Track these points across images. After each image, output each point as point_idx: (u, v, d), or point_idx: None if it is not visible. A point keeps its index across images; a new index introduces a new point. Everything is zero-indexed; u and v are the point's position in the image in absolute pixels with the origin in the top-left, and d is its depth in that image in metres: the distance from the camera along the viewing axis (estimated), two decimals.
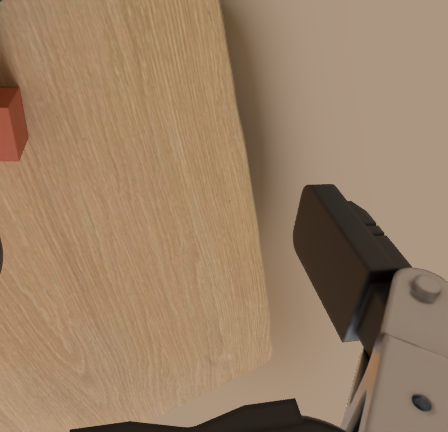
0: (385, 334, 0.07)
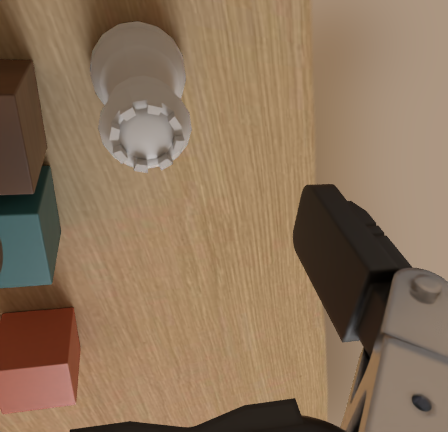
0: (385, 334, 0.07)
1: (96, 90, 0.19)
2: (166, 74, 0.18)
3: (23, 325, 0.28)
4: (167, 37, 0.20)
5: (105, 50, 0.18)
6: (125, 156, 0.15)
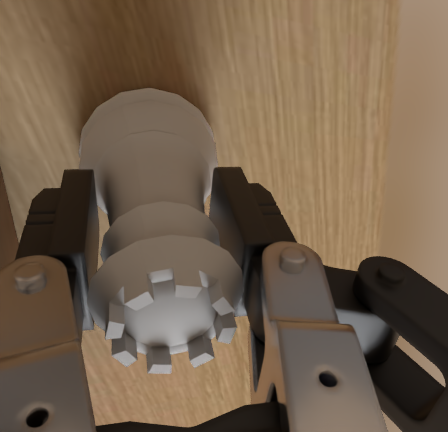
0: (276, 321, 0.07)
1: None
2: (194, 176, 0.12)
3: None
4: (192, 109, 0.13)
5: (101, 136, 0.12)
6: (133, 356, 0.08)
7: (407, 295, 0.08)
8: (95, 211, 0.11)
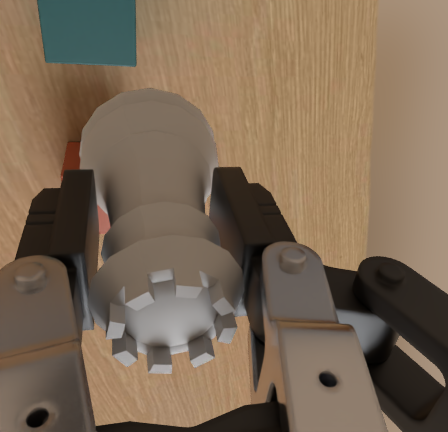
0: (276, 322, 0.07)
1: None
2: (195, 176, 0.12)
3: None
4: (192, 109, 0.13)
5: (101, 136, 0.12)
6: (134, 356, 0.08)
7: (407, 295, 0.08)
8: (95, 211, 0.11)
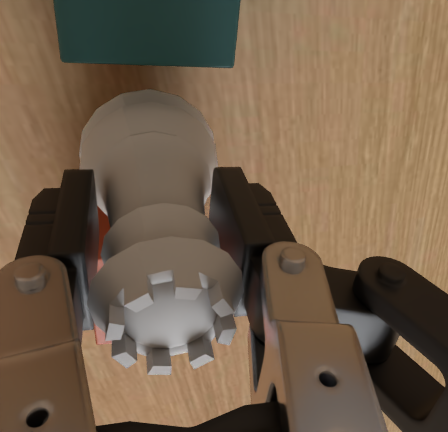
0: (276, 321, 0.07)
1: None
2: (194, 177, 0.12)
3: None
4: (192, 110, 0.13)
5: (101, 137, 0.12)
6: (133, 357, 0.08)
7: (407, 295, 0.08)
8: (95, 211, 0.11)
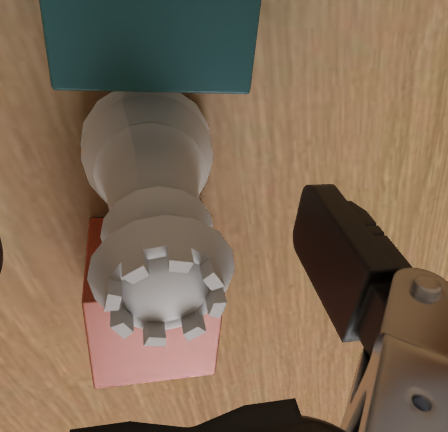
0: (385, 334, 0.07)
1: (88, 179, 0.14)
2: (189, 165, 0.12)
3: None
4: (188, 102, 0.14)
5: (101, 128, 0.13)
6: (130, 329, 0.09)
7: None
8: None
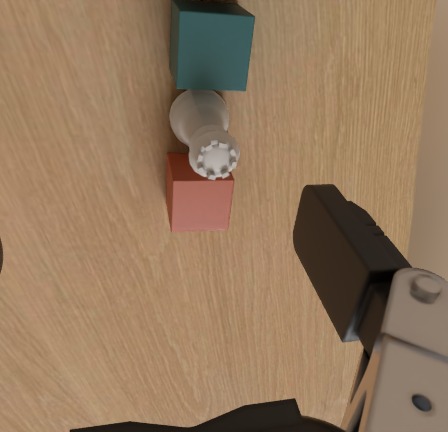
0: (385, 334, 0.07)
1: (174, 129, 0.31)
2: (220, 121, 0.30)
3: (188, 160, 0.33)
4: (218, 96, 0.31)
5: (183, 106, 0.30)
6: (204, 170, 0.26)
7: None
8: None
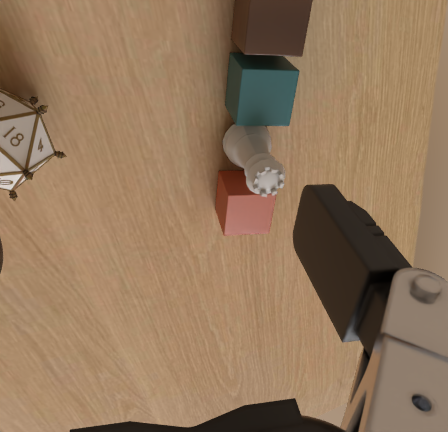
0: (385, 334, 0.07)
1: (228, 153, 0.38)
2: (267, 148, 0.37)
3: (236, 176, 0.41)
4: None
5: (236, 135, 0.37)
6: (258, 190, 0.34)
7: None
8: None
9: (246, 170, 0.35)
